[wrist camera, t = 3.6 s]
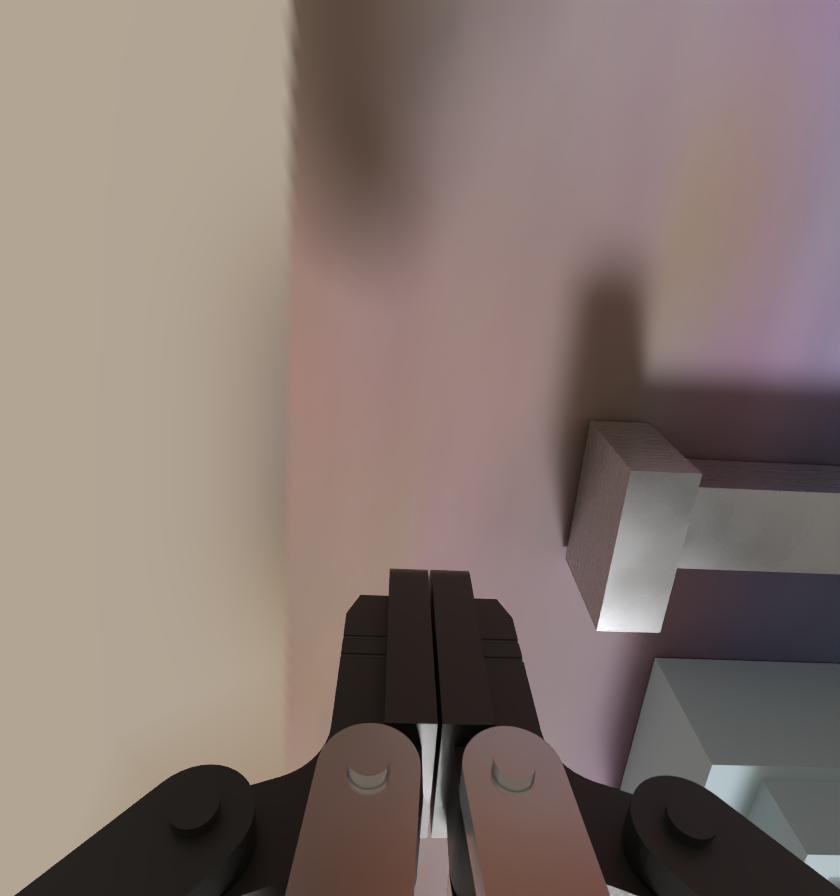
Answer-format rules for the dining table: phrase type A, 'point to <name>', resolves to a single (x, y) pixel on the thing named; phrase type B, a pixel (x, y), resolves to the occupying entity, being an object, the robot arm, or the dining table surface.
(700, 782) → the block
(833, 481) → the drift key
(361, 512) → the dining table surface
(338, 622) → the dining table surface
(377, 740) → the robot arm
